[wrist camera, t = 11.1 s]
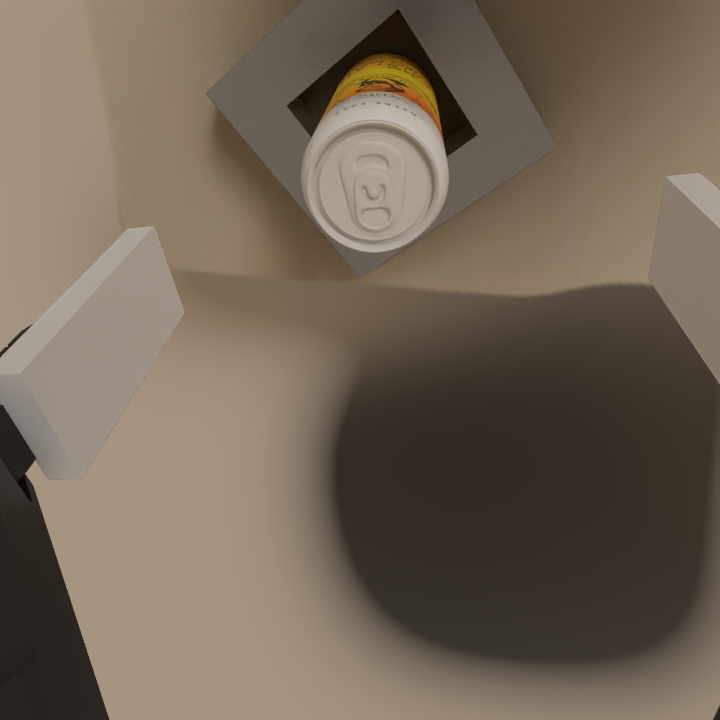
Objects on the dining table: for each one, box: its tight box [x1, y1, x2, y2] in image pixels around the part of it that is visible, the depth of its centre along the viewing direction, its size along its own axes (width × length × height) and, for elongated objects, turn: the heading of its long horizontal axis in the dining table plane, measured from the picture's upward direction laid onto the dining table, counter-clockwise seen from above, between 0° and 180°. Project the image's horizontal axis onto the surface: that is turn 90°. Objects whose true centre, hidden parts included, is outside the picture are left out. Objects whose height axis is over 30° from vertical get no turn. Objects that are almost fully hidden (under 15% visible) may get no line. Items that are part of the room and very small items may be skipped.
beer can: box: [301, 53, 449, 253], centre depth 29 cm, size 6×6×15 cm
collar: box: [206, 0, 557, 278], centre depth 34 cm, size 14×14×4 cm
